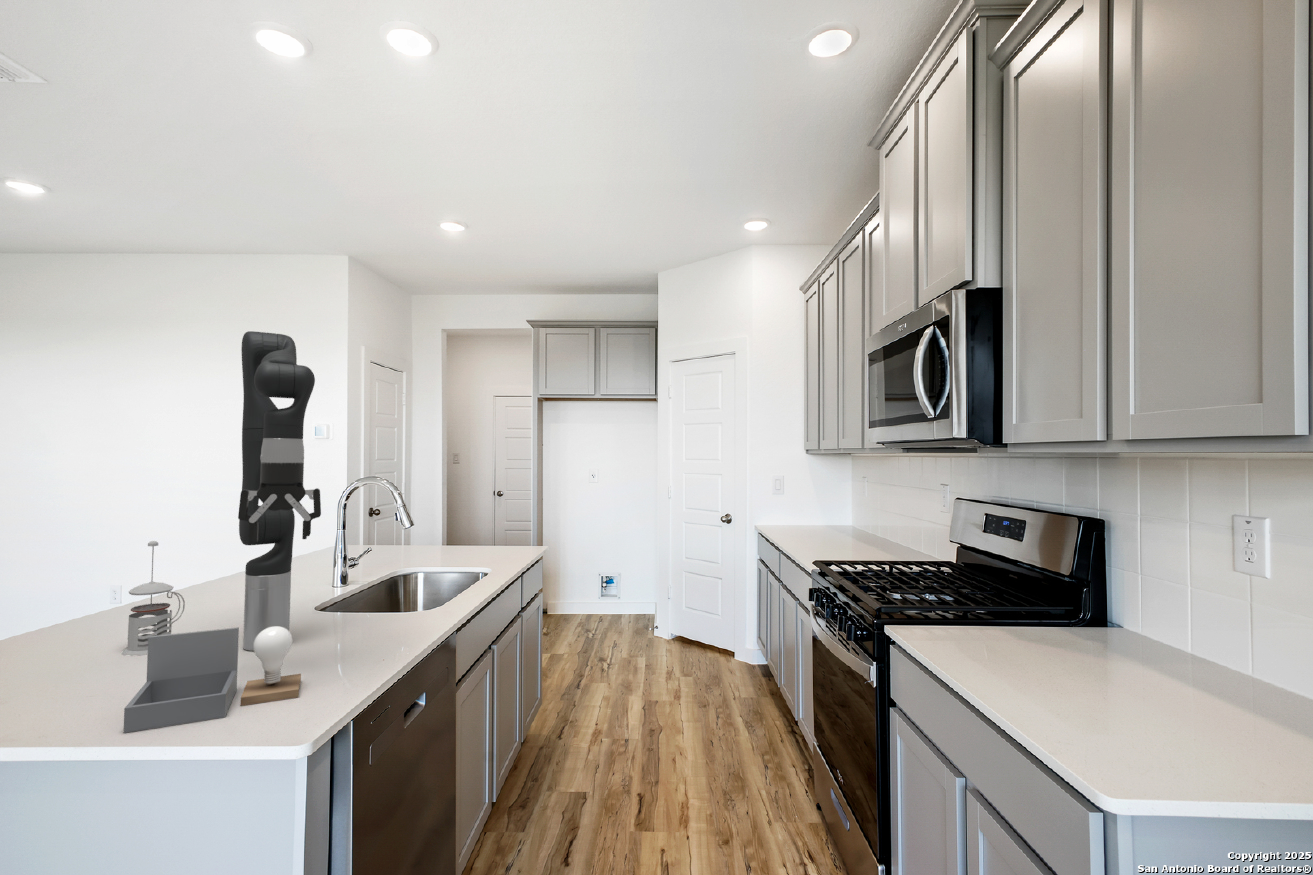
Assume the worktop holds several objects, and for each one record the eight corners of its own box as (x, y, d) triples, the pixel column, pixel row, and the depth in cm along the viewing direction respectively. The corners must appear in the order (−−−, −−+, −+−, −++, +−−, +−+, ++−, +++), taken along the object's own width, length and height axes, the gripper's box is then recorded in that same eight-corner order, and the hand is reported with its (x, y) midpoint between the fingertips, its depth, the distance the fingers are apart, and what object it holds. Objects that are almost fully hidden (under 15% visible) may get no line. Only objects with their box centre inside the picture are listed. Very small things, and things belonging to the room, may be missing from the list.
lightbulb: (264, 678, 118) (265, 622, 119) (298, 677, 119) (299, 621, 119) (244, 691, 112) (246, 631, 112) (280, 690, 113) (281, 631, 113)
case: (146, 702, 110) (149, 636, 111) (236, 689, 116) (238, 627, 117) (123, 733, 98) (126, 658, 98) (225, 717, 104) (227, 647, 105)
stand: (247, 688, 117) (247, 680, 117) (300, 681, 121) (301, 673, 121) (240, 705, 109) (240, 697, 109) (298, 697, 113) (298, 689, 113)
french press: (111, 652, 137) (115, 542, 138) (168, 638, 148) (172, 536, 149) (137, 658, 133) (141, 545, 134) (194, 643, 144) (197, 538, 145)
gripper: (322, 460, 130) (320, 536, 130) (243, 460, 124) (240, 539, 123) (321, 461, 124) (319, 540, 123) (238, 460, 117) (235, 544, 116)
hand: (280, 540), depth 123 cm, fingers open, 8 cm apart
